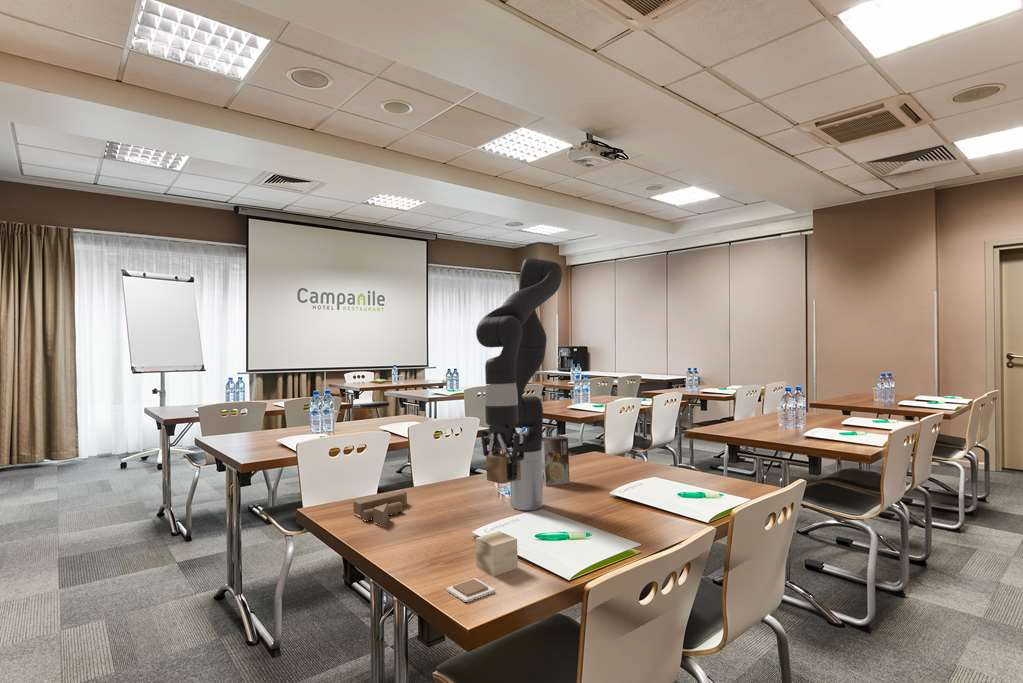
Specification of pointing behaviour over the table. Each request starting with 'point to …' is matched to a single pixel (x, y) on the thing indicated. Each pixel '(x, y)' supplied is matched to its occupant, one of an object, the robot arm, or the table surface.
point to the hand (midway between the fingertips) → (503, 477)
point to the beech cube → (496, 553)
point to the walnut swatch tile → (470, 590)
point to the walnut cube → (499, 468)
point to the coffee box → (555, 461)
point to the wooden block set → (380, 506)
